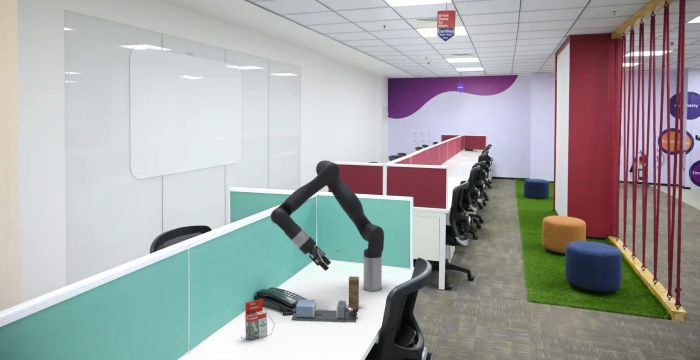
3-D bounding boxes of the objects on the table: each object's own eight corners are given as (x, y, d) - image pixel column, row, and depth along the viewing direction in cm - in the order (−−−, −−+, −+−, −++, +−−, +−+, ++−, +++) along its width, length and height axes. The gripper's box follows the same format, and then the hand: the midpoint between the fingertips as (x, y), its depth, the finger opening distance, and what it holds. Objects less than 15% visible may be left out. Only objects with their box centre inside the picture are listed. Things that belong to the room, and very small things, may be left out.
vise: (295, 311, 227) (295, 298, 226) (359, 313, 225) (359, 300, 224) (291, 320, 217) (291, 307, 216) (357, 322, 215) (357, 308, 214)
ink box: (267, 336, 202) (266, 301, 200) (249, 340, 197) (248, 305, 195) (263, 332, 205) (263, 298, 203) (245, 337, 200) (244, 302, 198)
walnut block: (349, 305, 234) (349, 276, 233) (358, 305, 234) (358, 276, 232) (348, 308, 230) (348, 279, 228) (358, 309, 230) (358, 279, 228)
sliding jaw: (299, 309, 226) (299, 299, 225) (316, 310, 225) (316, 300, 225) (296, 316, 218) (296, 306, 217) (313, 317, 217) (313, 306, 217)
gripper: (307, 239, 222) (332, 265, 223) (311, 232, 236) (335, 257, 237) (295, 251, 223) (320, 276, 224) (300, 243, 237) (324, 267, 238)
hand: (328, 266), depth 230 cm, fingers open, 8 cm apart
